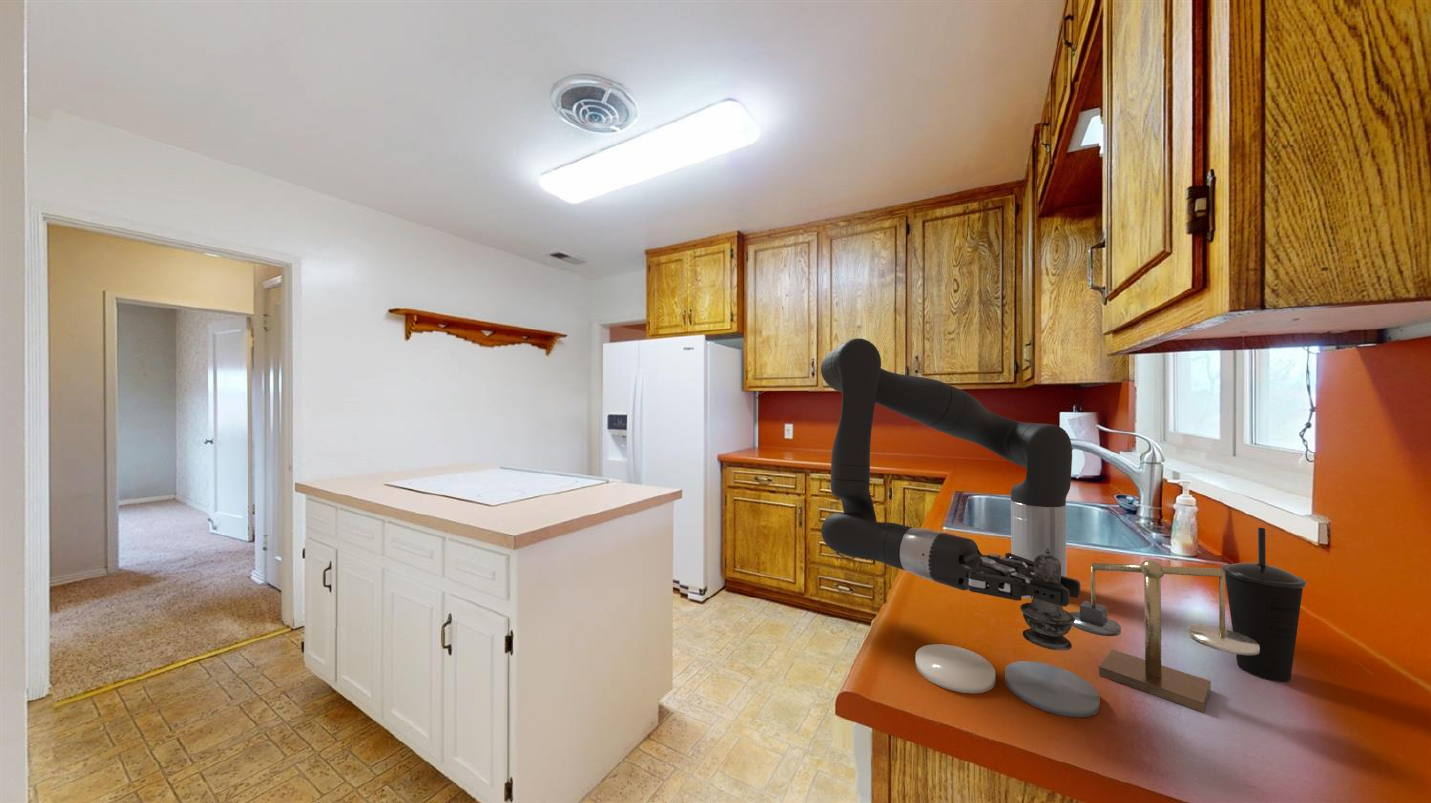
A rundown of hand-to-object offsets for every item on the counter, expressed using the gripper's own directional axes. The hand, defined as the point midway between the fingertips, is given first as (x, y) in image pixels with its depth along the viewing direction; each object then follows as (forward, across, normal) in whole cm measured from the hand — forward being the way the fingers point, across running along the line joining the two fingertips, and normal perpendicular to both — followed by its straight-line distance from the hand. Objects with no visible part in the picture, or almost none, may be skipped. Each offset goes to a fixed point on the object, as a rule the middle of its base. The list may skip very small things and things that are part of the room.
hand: (1073, 593), depth 59 cm
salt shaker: (-3, 0, +7) cm, 8 cm away
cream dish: (-12, -5, +14) cm, 19 cm away
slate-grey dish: (-2, 0, +14) cm, 14 cm away
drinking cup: (+14, +28, +14) cm, 35 cm away
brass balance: (+5, +13, +14) cm, 20 cm away
